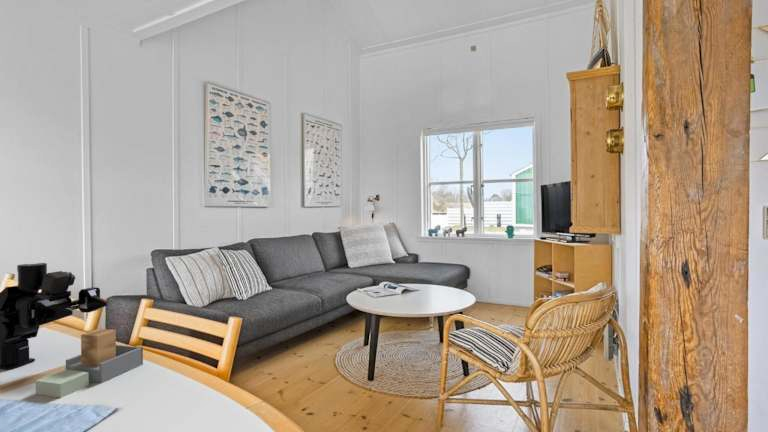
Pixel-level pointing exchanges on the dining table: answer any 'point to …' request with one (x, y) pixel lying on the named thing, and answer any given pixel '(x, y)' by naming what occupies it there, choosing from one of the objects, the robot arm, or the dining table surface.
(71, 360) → the tray
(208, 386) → the dining table surface
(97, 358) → the oak pillar
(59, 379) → the step
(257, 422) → the dining table surface
